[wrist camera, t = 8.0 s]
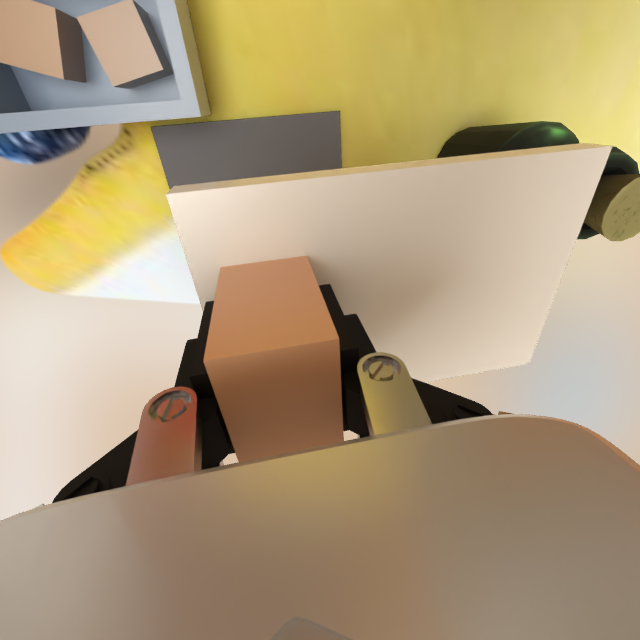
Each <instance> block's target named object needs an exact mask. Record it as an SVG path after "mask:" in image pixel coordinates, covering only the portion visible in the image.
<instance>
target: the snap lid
mask: <svg viewBox="0 0 640 640" xmlns="http://www.w3.org/2000/svg"><path fill="white" fill-rule="evenodd" d="M611 149H612V146H608V145H598V144H589V143H578V144H569V145H559V146H550V147H540V148H531V149H521V150H512V151H502V152H493V153H483V154H474V155H464V156H455V157H445V158H436V159H426V160H417V161H407V162H398V163H388V164H379V165H369V166H360V167H350V168H341V169H331V170H322V171H312V172H303V173H293V174H284V175H274V176H265V177H255V178H246V179H236V180H227V181H218V182H208V183H199V184H189V185H180V186H173V187H172V188H171V189H170V190H169V191H168V193H167V194H166V196H167V199H168V202H169V206H170V209H171V212H172V215H173V218H174V221H175V224H176V228H177V231H178V234H179V237H180V240H181V243H182V247H183V250H184V253H185V256H186V259H187V262H188V266H189V269H190V272H191V275H192V278H193V281H194V284H195V288H196V291H197V294H198V297H199V300H200V303H201V307H202V309H203V312H204V307H205V303H206V302H207V301H214V305H213V310H212V316H211V321H210V327H209V332H208V338H207V343H206V349H205V354H204V360H203V362H204V365H205V367H206V370H207V373H208V376H209V379H210V382H211V384H212V387H213V390H214V393H215V396H216V399H217V402H218V404H219V407H220V410H221V413H222V416H223V419H224V421H225V424H226V427H227V430H228V433H229V436H230V439H231V441H232V444H233V447H234V450H235V453H236V455H237V458H238V461H239V462H243V461H248V460H253V459H258V458H263V457H268V456H273V455H278V454H283V453H288V452H293V451H298V450H303V449H308V448H313V447H318V446H323V445H328V444H333V443H338V442H343V441H344V438H343V414H342V391H341V368H340V345H339V337H338V334H337V332H336V329H335V327H334V324H333V321H332V319H331V316H330V314H329V311H328V309H327V306H326V303H325V301H324V298H323V296H322V293H321V291H320V288H319V285H324V284H330V285H331V287H332V289H333V292H334V294H335V296H336V298H337V300H338V302H339V305H340V307H341V309H342V311H343V313H344V315H349V314H357V316H358V317H359V319H360V321H361V323H362V325H363V327H364V329H365V331H366V333H367V335H368V337H369V339H370V340H371V342H372V344H373V346H374V348H375V350H376V352H384V353H389V354H392V355H394V356H397V357H398V358H399V359H401V360H402V361H403V363H404V364H405V365H406V368H407V370H408V372H409V374H410V376H411V378H414V379H416V380H419V381H422V382H424V383H426V382H432V381H437V380H442V379H448V378H453V377H458V376H464V375H469V374H475V373H480V372H485V371H491V370H496V369H501V368H506V367H512V366H517V365H522V364H528V363H529V362H530V360H531V357H532V355H533V352H534V349H535V347H536V344H537V342H538V339H539V336H540V334H541V331H542V328H543V326H544V323H545V321H546V318H547V315H548V313H549V310H550V308H551V305H552V303H553V300H554V297H555V295H556V291H557V289H558V287H559V284H560V282H561V279H562V276H563V274H564V271H565V269H566V266H567V263H568V261H569V258H570V256H571V253H572V250H573V248H574V245H575V243H576V240H577V237H578V235H579V232H580V230H581V227H582V224H583V222H584V219H585V217H586V214H587V211H588V209H589V206H590V204H591V201H592V198H593V196H594V193H595V191H596V188H597V185H598V183H599V180H600V178H601V175H602V172H603V170H604V167H605V165H606V162H607V159H608V157H609V154H610V152H611Z"/></svg>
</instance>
